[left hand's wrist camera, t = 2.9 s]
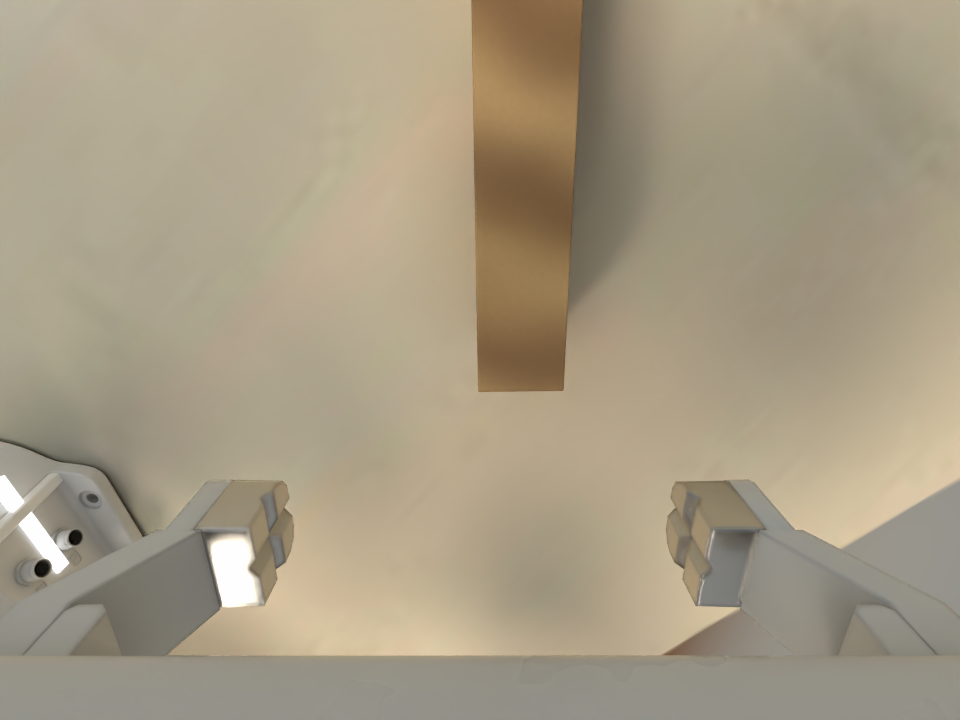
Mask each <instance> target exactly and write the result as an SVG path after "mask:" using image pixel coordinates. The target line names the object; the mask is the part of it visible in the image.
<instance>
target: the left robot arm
mask: <svg viewBox="0 0 960 720" xmlns="http://www.w3.org/2000/svg"><path fill="white" fill-rule="evenodd" d="M288 500H289V494H288V489H287V485H286V484H285V483H284V482H283V481H262V480H211V481H208V482H206V483H205V484H204V485H203V486H202V488H201V489H200V490H199V491H198V492H197V493H196V494H195V496H194V497H193V498H192V499H191V500H190V501H189V503H188V504H187V505H186V506H185V507H184V508H183V510H182V511H181V512H180V513H179V514H178V515H177V517H176V518H175V519H174V520H173V521H172V522H171V524H170V525H169V526H168V527H167V528H166V529H165V530H156V531H154V532H153V533H151V534H149V535H147V536H145V537H143V536H142V534H141V533H140V531H139V530H138V528H137V526H136V525H135V523H134V521H133V520H132V518H131V516H130V515H129V513H128V511H127V510H126V508H125V506H124V505H123V503H122V502H121V500H120V498H119V497H118V495H117V493H116V492H115V490H114V488H113V487H112V485H111V483H110V482H109V480H108V479H107V477H106V476H105V475H104V474H103V473H102V472H101V471H100V470H98V469H96V468H93V467H90V466H86V465H80V464H73V463H63V462H58V461H55V460H52V459H49V458H47V457H44V456H42V455H40V454H37V453H35V452H33V451H30V450H28V449H25V448H23V447H20V446H17V445H13V444H9V443H5V442H1V441H0V720H960V616H958V615H957V614H956V613H955V612H954V611H953V610H952V609H951V608H950V607H949V606H948V605H947V604H946V603H944V602H942V601H940V600H939V599H937V598H935V597H933V596H931V595H929V594H927V593H925V592H923V591H921V590H919V589H917V588H915V587H913V586H911V585H909V584H907V583H905V582H903V581H901V580H899V579H897V578H895V577H894V576H892V575H890V574H888V573H886V572H884V571H882V570H880V569H878V568H876V567H874V566H872V565H870V564H868V563H866V562H864V561H862V560H860V559H858V558H856V557H854V556H852V555H850V554H849V553H847V552H845V551H843V550H841V549H839V548H837V547H835V546H833V545H831V544H829V543H827V542H825V541H823V540H821V539H819V538H817V537H815V536H813V535H811V534H809V533H807V532H806V531H804V530H795V529H794V528H793V527H792V526H791V525H790V524H789V522H788V521H787V520H786V519H785V518H784V517H783V515H782V514H781V513H780V512H779V511H778V510H777V508H776V507H775V506H774V505H773V504H772V503H771V501H770V500H769V499H768V498H767V497H766V496H765V495H764V493H763V492H762V491H761V490H760V489H759V488H758V486H757V485H756V484H755V483H754V482H752V481H750V480H724V481H679V482H675V484H674V486H673V488H672V494H671V500H672V501H673V503H674V505H675V507H676V508H675V509H674V510H673V511H672V512H671V513H670V514H669V515H668V518H667V526H666V534H667V544H668V547H669V551H670V554H671V556H672V558H673V560H674V562H675V563H676V564H678V565H679V566H680V567H682V568H683V569H684V574H683V581H684V583H685V585H686V587H687V589H688V591H689V593H690V595H691V597H692V599H693V601H694V603H695V605H696V606H717V607H740V610H742V611H743V612H744V613H745V614H746V615H748V616H749V617H750V618H751V619H752V620H753V621H755V622H756V623H757V624H758V625H759V626H760V627H762V628H763V629H764V630H765V631H766V632H768V633H769V634H770V635H771V636H772V637H773V638H775V639H776V640H777V641H778V642H779V643H780V644H782V645H783V646H784V647H785V648H786V649H787V650H789V651H790V652H791V653H792V654H793V655H795V656H166V655H167V654H168V653H169V652H170V651H171V650H173V649H174V648H175V647H176V646H177V645H179V644H180V643H181V642H182V641H183V640H184V639H186V638H187V637H188V636H189V635H190V634H192V633H193V632H194V631H195V630H196V629H197V628H199V627H200V626H201V625H202V624H203V623H205V622H206V621H207V620H208V619H209V618H210V617H212V616H213V615H214V614H215V613H216V612H217V611H219V610H220V608H219V607H242V606H265V603H266V601H267V599H268V597H269V595H270V593H271V591H272V589H273V587H274V585H275V583H276V581H277V574H276V569H277V568H278V567H280V566H281V565H282V564H284V563H285V562H286V560H287V558H288V556H289V554H290V552H291V547H292V542H293V538H294V524H293V518H292V515H291V514H290V513H289V512H288V511H287V510H286V509H285V508H284V507H285V505H286V503H287V501H288Z"/></svg>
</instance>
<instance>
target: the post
mask: <svg viewBox="0 0 960 720" xmlns="http://www.w3.org/2000/svg"><path fill="white" fill-rule="evenodd" d="M582 17H583V0H472V57H473V117H474V176H475V235H476V295H477V354H478V391H479V392H502V391H563V389H564V370H565V350H566V331H567V311H568V291H569V272H570V252H571V233H572V213H573V193H574V174H575V154H576V135H577V115H578V95H579V76H580V56H581V36H582Z"/></svg>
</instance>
